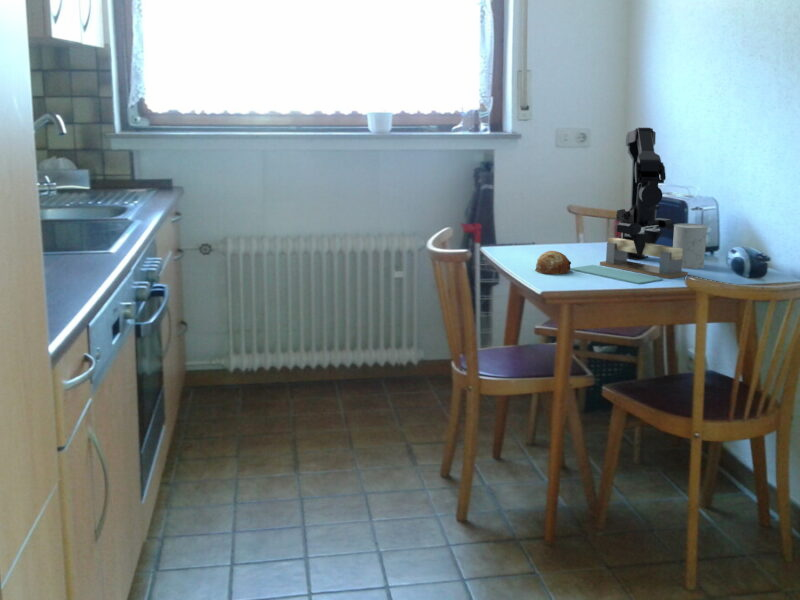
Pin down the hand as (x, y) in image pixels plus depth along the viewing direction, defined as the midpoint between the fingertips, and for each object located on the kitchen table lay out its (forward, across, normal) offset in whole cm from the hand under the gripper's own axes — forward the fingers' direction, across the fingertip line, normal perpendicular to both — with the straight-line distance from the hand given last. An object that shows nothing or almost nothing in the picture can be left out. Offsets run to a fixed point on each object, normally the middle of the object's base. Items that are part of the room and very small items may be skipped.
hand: (643, 255), depth 259 cm
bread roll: (+5, +23, -14) cm, 27 cm away
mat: (+4, +12, 0) cm, 13 cm away
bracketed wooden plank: (+4, 0, 0) cm, 4 cm away
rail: (0, 0, 0) cm, 0 cm away
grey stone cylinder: (+5, -17, +3) cm, 18 cm away
